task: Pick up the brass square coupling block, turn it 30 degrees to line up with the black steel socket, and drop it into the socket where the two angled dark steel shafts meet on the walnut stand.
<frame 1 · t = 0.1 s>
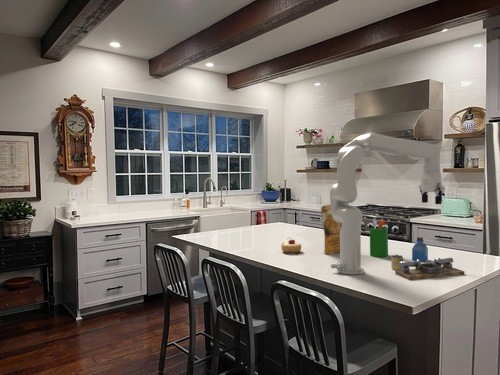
hand: (431, 203, 194), 31 cm above the worktop, tool pointing down, fingers open, 9 cm apart
left shaft: (409, 267, 177), resting on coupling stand
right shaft: (444, 264, 181), resting on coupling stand
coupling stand: (429, 274, 178), on the worktop
pancake mix bag: (332, 252, 229), on the worktop
green bottle: (379, 255, 217), on the worktop
perfume bottle: (419, 260, 205), on the worktop
pastry: (291, 252, 230), on the worktop
coupling block: (397, 268, 188), on the worktop
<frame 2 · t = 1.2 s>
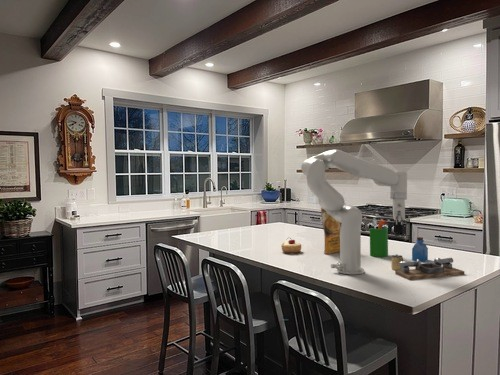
hand: (397, 231, 188), 18 cm above the worktop, tool pointing down, fingers open, 9 cm apart
nothing on the worktop moved.
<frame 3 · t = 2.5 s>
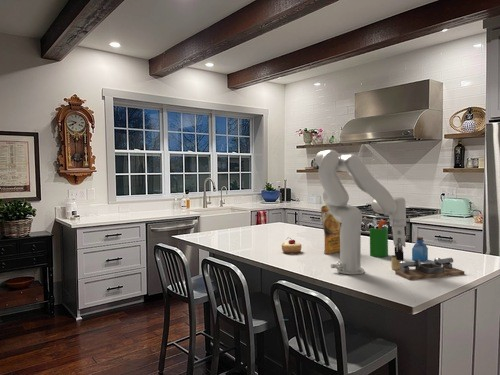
hand: (399, 257, 188), 5 cm above the worktop, tool pointing down, fingers open, 9 cm apart
nothing on the worktop moved.
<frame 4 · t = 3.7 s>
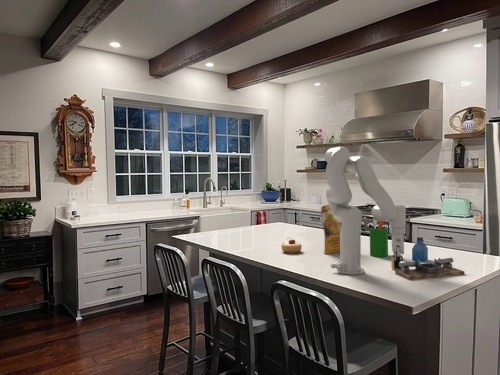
hand: (397, 266, 188), 1 cm above the worktop, tool pointing down, fingers closed on coupling block, 5 cm apart
coupling block: (397, 268, 188), on the worktop, touching gripper
everything else where it was.
when the fingers open (5 cm above the worktop, at t = 9.4 s): coupling block drops 3 cm, resting on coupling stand.
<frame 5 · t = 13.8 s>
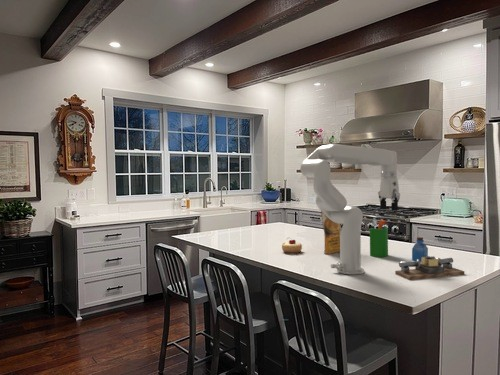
hand: (388, 209, 194), 28 cm above the worktop, tool pointing down, fingers open, 9 cm apart
coupling block: (429, 271, 177), point 1 cm above the worktop, touching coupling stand
everything else where it was.
at the end: coupling block 0.1 cm off-centre on the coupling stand, point 1.5 cm above the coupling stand's base; coupling block tilted 0°; the gripper is holding nothing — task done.
